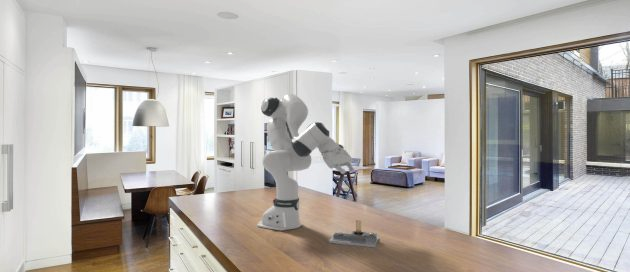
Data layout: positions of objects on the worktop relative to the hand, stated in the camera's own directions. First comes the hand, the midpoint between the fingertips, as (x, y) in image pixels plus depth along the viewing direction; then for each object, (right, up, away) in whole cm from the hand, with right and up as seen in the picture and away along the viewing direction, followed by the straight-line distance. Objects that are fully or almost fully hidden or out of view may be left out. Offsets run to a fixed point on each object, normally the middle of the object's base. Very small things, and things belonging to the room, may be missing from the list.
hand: (348, 171), depth 160 cm
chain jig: (+1, -30, -9) cm, 31 cm away
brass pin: (+3, -29, -10) cm, 31 cm away
